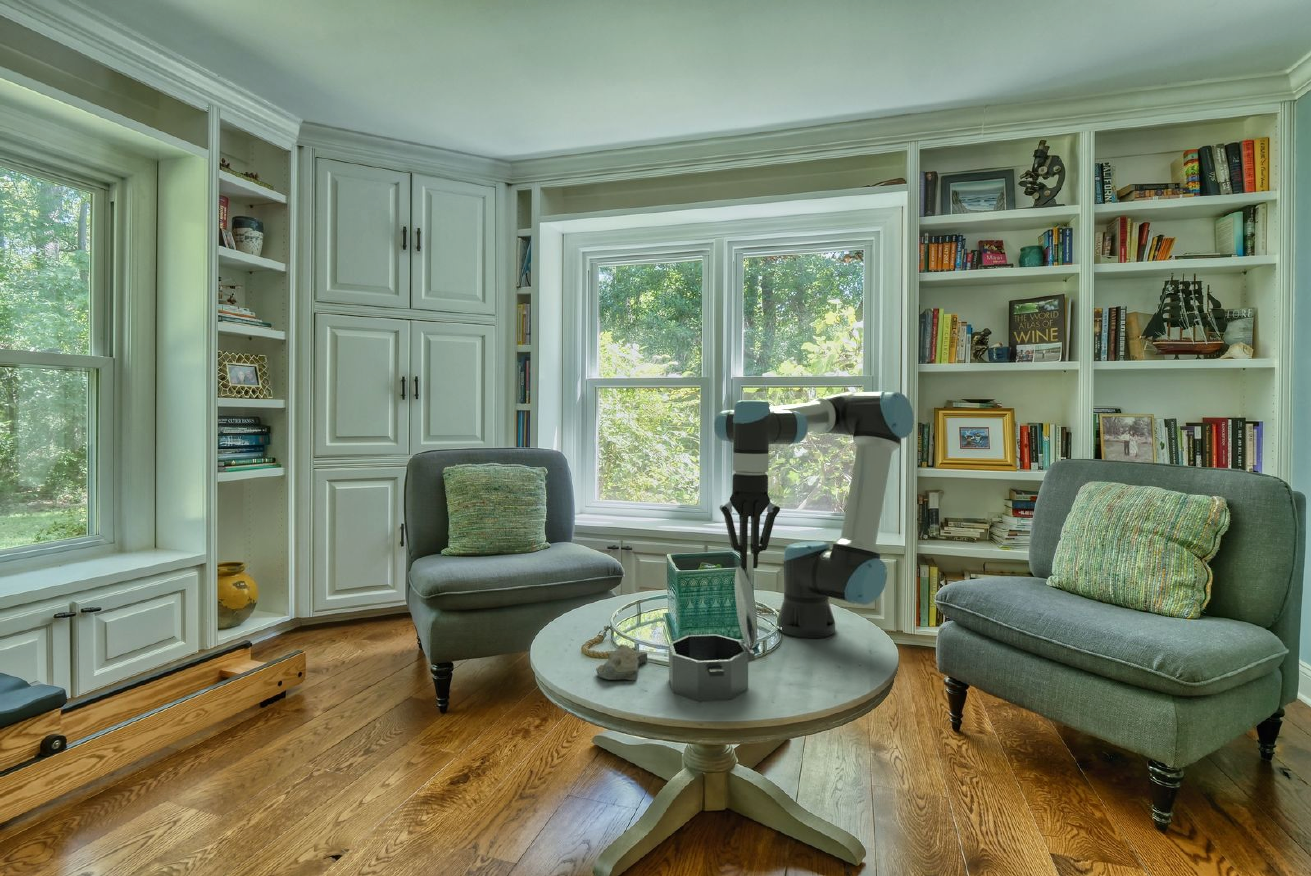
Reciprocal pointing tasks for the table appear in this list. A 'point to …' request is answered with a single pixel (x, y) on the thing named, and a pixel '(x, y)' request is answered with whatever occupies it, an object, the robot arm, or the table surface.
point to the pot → (709, 667)
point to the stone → (622, 664)
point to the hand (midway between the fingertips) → (748, 583)
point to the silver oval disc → (746, 607)
